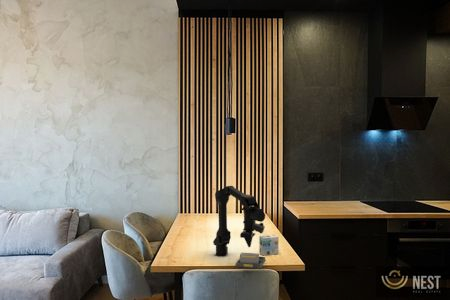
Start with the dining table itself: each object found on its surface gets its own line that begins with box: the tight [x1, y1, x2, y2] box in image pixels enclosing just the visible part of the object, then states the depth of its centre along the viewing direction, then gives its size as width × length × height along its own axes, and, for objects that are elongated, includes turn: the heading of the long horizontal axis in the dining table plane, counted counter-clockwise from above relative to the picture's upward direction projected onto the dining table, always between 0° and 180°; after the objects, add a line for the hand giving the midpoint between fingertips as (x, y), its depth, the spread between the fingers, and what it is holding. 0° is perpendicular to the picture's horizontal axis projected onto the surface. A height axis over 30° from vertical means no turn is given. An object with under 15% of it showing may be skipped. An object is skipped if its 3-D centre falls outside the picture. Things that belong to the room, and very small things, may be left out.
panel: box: [239, 252, 260, 264], centre depth 203 cm, size 10×4×6 cm, turn 74°
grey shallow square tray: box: [235, 256, 266, 269], centre depth 206 cm, size 14×15×2 cm
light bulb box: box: [258, 234, 280, 256], centre depth 226 cm, size 11×7×11 cm, turn 103°
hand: (249, 247), depth 203 cm, fingers closed
